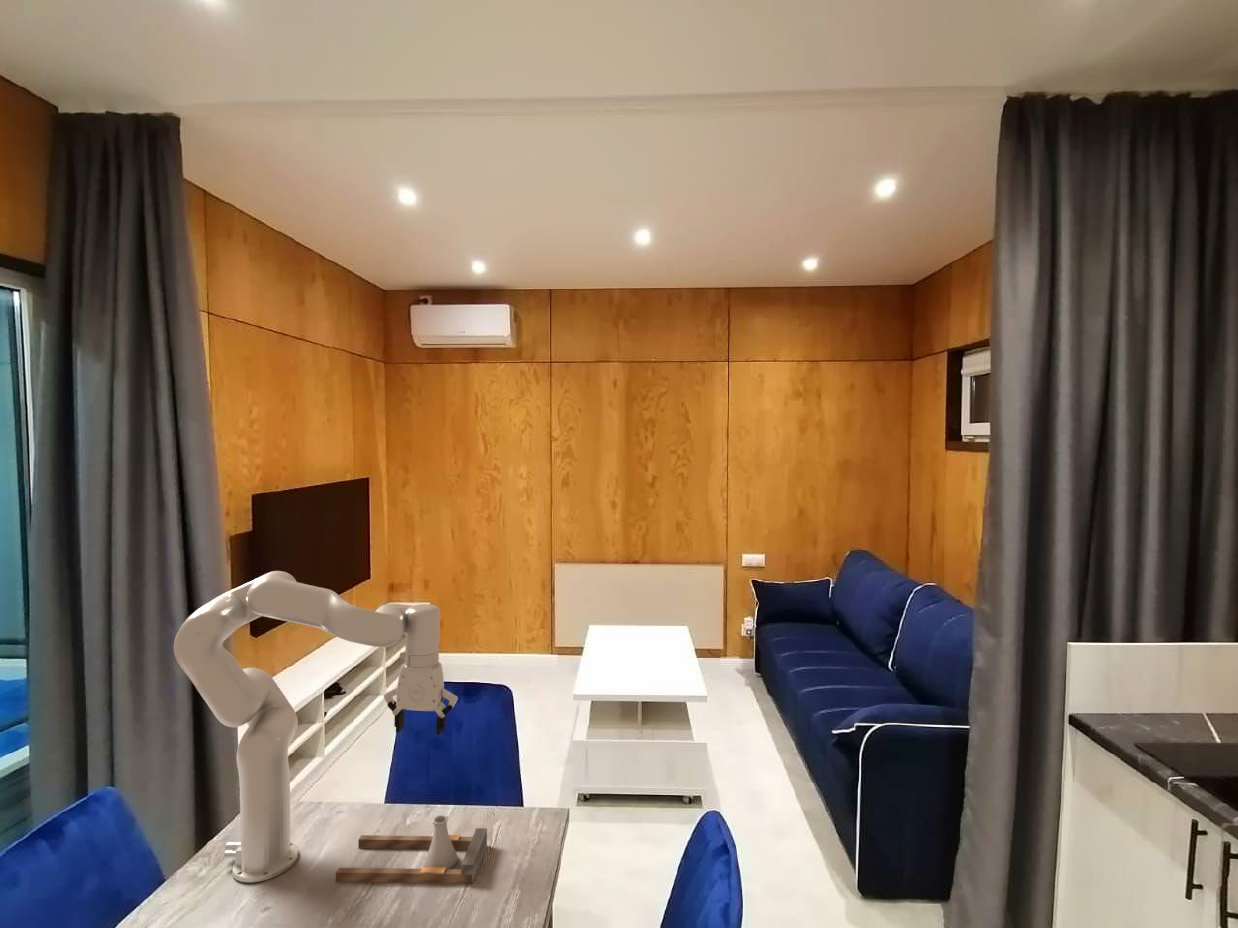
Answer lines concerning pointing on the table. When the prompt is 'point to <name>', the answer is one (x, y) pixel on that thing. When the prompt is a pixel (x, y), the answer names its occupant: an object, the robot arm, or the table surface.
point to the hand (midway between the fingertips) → (419, 730)
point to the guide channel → (426, 874)
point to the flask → (441, 846)
